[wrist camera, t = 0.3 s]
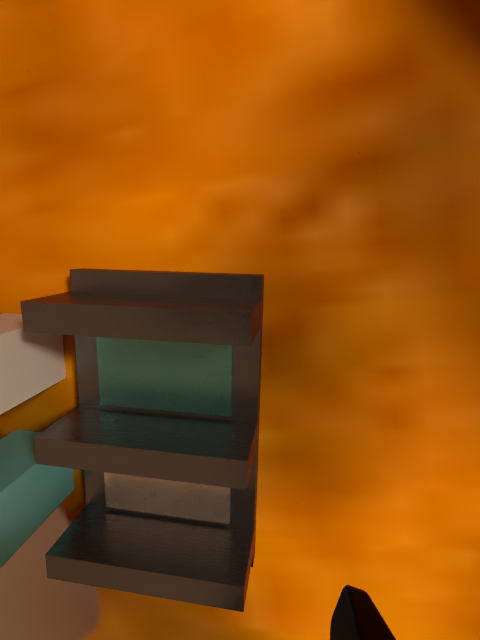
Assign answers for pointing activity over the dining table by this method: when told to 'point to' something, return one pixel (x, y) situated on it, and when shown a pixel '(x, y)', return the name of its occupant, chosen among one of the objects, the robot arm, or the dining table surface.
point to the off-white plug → (27, 362)
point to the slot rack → (159, 431)
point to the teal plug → (26, 490)
